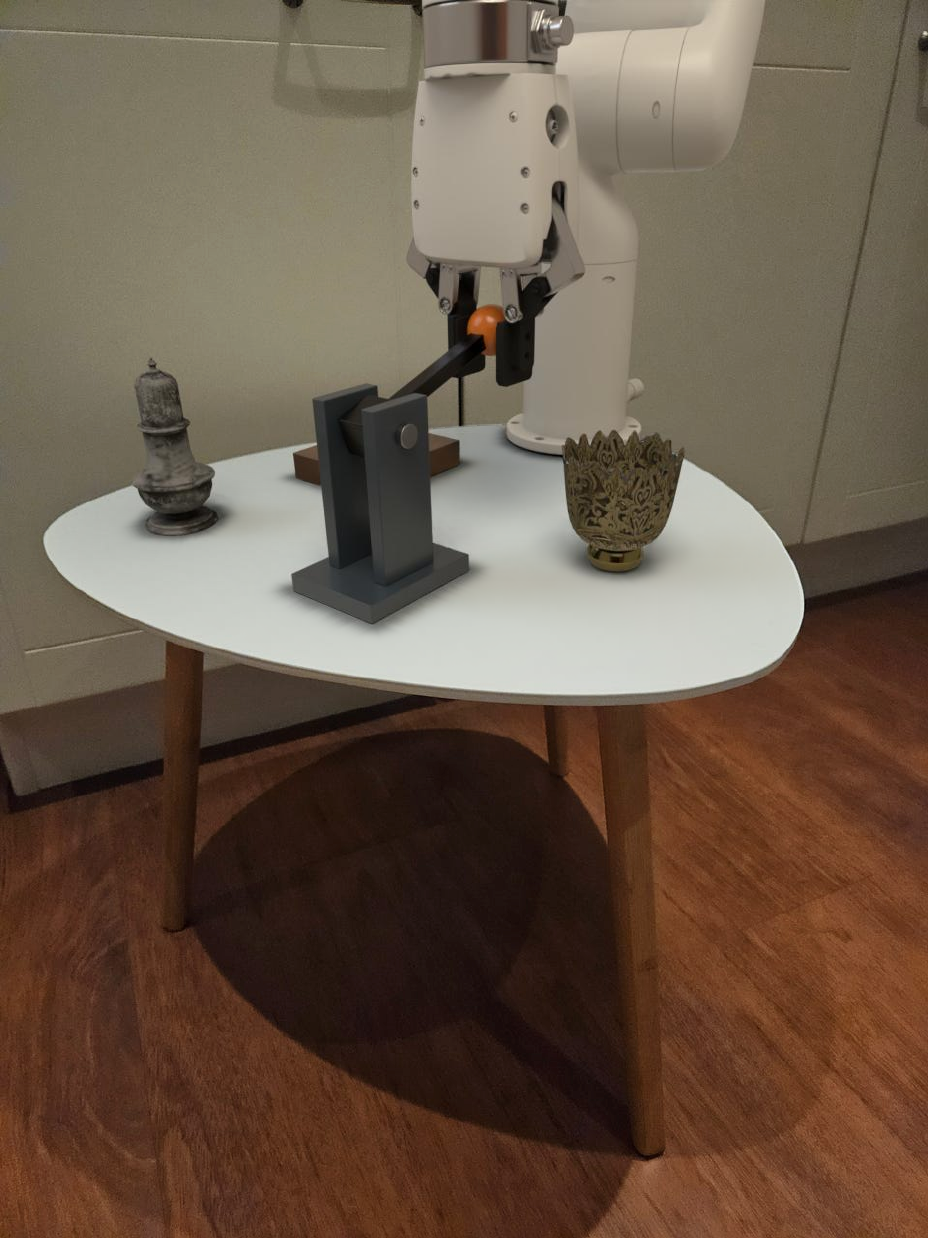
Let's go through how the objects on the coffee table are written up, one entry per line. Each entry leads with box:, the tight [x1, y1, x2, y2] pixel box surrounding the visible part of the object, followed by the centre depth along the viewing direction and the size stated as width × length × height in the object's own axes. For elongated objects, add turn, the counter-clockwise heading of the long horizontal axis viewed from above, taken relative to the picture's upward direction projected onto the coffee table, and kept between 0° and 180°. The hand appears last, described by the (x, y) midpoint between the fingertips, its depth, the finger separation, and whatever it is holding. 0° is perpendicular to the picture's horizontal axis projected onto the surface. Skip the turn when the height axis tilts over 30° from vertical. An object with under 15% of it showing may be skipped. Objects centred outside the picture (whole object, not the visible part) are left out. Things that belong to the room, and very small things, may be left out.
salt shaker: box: [130, 357, 219, 536], centre depth 61 cm, size 6×6×12 cm
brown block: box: [292, 432, 461, 486], centre depth 72 cm, size 11×9×4 cm
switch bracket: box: [290, 382, 470, 624], centre depth 52 cm, size 9×7×12 cm
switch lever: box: [337, 303, 505, 458], centre depth 53 cm, size 15×3×3 cm, turn 141°
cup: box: [562, 430, 686, 572], centre depth 54 cm, size 8×7×8 cm
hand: (490, 375), depth 57 cm, fingers closed on switch lever, 3 cm apart
